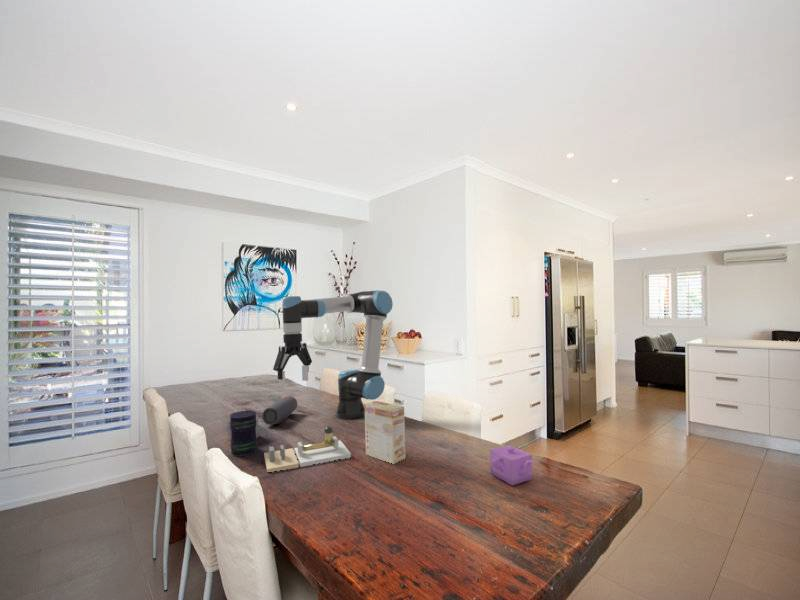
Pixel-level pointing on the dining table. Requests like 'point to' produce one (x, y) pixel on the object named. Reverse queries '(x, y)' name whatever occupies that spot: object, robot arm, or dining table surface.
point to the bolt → (327, 443)
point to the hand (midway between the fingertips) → (294, 383)
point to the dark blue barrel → (243, 433)
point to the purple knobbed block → (511, 464)
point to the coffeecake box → (385, 431)
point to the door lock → (303, 456)
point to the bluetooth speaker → (279, 410)
